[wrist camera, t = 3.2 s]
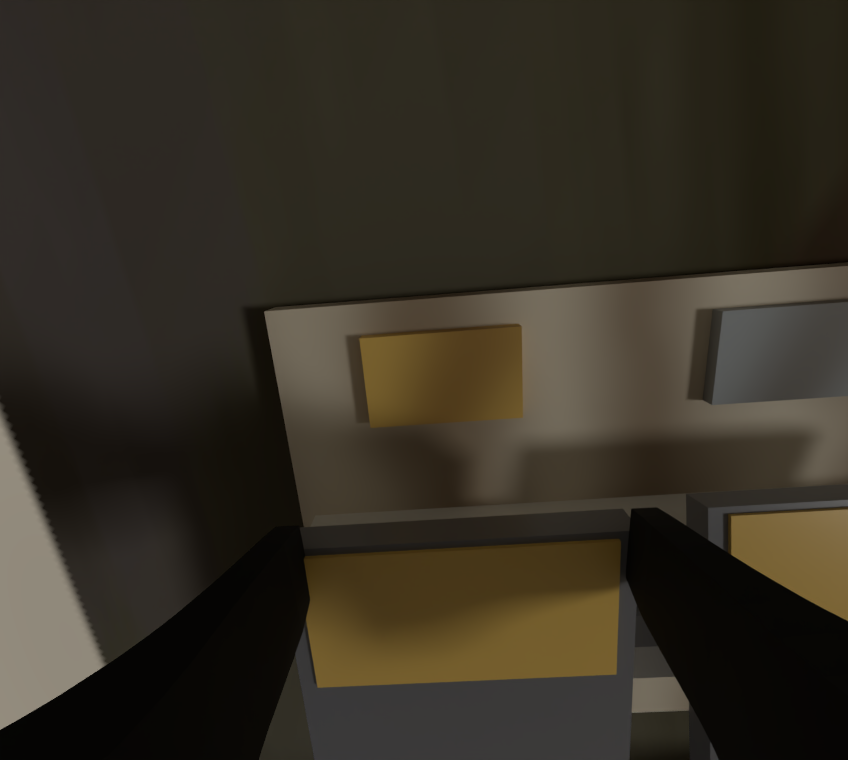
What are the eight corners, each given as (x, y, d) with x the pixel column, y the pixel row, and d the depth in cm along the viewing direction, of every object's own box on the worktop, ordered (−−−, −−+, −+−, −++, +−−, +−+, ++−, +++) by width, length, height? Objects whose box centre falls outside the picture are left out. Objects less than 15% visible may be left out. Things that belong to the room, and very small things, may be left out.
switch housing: (339, 604, 18) (312, 707, 14) (322, 500, 17) (286, 581, 13) (881, 576, 18) (1020, 677, 13) (912, 464, 16) (1077, 539, 12)
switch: (331, 774, 14) (323, 816, 13) (289, 528, 12) (275, 553, 11) (613, 764, 14) (629, 807, 13) (622, 508, 12) (642, 532, 11)
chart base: (344, 701, 20) (337, 736, 19) (275, 307, 15) (258, 313, 13) (865, 679, 19) (900, 714, 18) (985, 251, 14) (1049, 252, 12)
